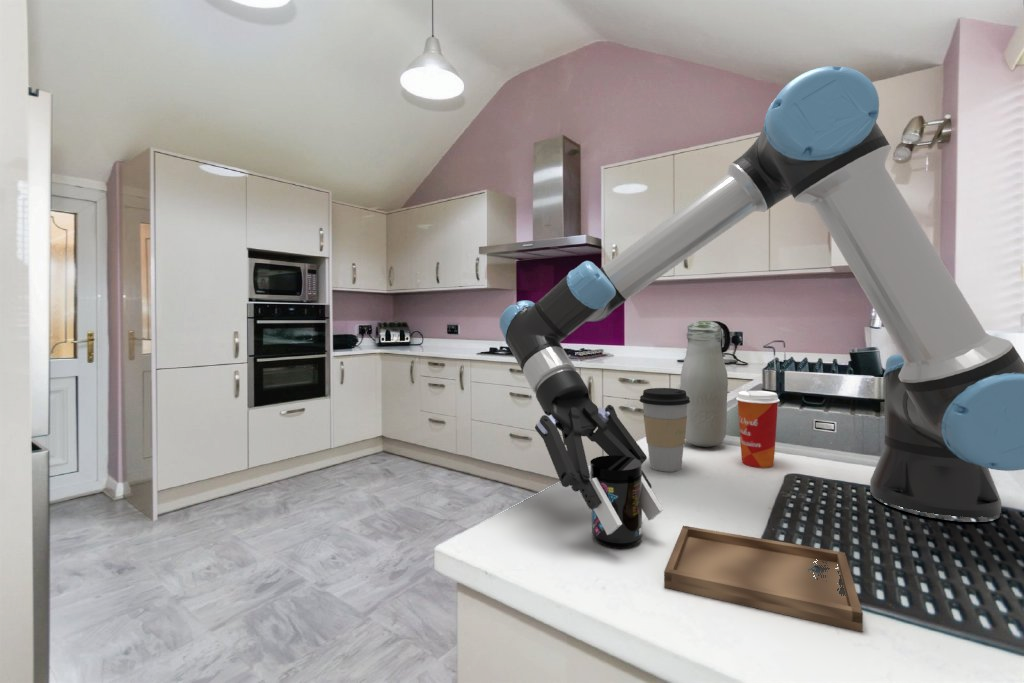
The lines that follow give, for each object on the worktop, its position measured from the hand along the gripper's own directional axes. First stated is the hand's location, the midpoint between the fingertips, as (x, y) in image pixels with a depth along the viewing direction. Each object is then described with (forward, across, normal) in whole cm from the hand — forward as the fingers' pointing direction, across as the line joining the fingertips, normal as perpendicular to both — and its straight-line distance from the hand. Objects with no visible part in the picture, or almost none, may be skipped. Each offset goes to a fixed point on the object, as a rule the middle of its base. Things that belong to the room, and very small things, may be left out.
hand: (636, 521), depth 63 cm
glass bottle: (-16, -48, -21) cm, 55 cm away
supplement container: (0, 0, -5) cm, 5 cm away
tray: (+11, -6, +6) cm, 14 cm away
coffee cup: (-12, -29, -17) cm, 36 cm away
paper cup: (-5, -45, -10) cm, 47 cm away
